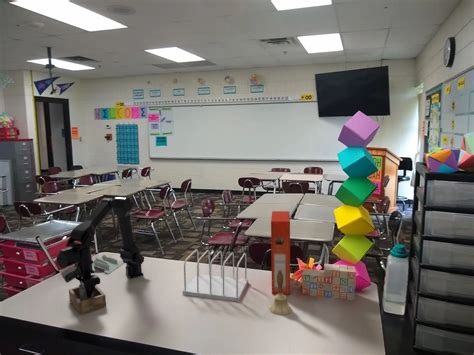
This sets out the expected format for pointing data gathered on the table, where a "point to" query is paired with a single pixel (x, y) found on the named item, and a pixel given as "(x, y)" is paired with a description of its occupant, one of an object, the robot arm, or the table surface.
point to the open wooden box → (87, 300)
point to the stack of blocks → (330, 282)
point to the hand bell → (280, 299)
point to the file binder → (280, 250)
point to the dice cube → (83, 293)
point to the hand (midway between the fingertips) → (87, 294)
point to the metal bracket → (107, 264)
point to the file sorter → (215, 282)
